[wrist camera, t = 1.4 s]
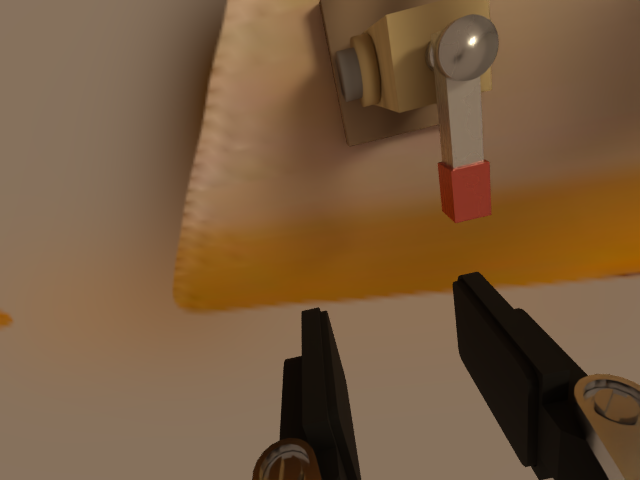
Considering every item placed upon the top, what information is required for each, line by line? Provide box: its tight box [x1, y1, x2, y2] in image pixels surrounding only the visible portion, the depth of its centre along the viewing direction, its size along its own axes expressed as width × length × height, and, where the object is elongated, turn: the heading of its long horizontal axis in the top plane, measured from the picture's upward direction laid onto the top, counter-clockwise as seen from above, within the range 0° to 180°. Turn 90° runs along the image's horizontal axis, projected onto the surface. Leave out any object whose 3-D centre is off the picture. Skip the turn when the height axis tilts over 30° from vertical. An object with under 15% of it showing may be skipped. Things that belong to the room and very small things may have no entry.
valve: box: [319, 0, 492, 147], centre depth 23 cm, size 10×10×9 cm
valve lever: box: [425, 14, 499, 223], centre depth 19 cm, size 10×3×3 cm, turn 13°
